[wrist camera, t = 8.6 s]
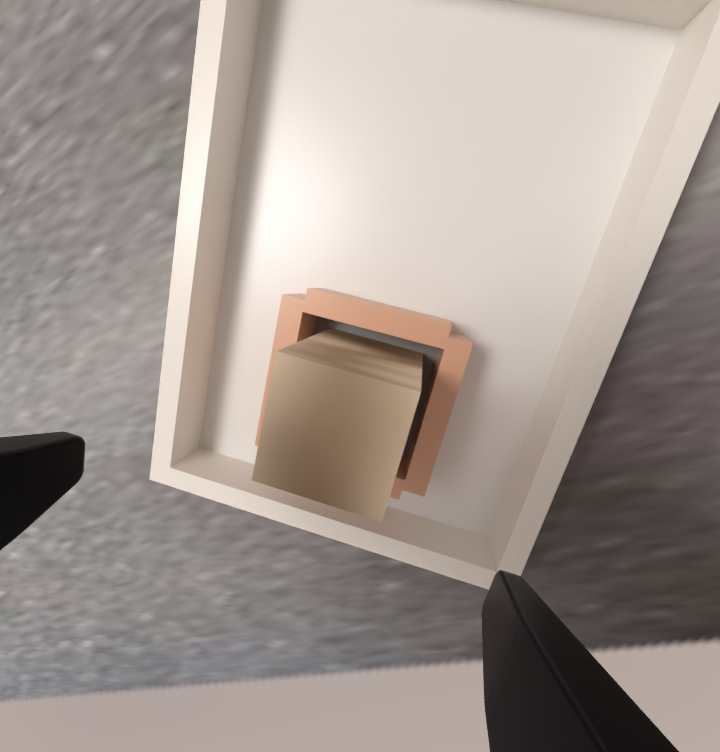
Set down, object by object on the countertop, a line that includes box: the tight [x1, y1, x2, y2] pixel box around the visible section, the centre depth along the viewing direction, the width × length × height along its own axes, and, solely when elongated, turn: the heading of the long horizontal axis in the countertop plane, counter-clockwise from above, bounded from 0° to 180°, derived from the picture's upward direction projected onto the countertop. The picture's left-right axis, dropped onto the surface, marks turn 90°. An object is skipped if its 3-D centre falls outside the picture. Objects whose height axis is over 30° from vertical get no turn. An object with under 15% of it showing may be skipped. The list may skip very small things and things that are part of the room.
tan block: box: [252, 328, 423, 522], centre depth 15 cm, size 4×4×7 cm
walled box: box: [150, 0, 720, 590], centre depth 17 cm, size 18×24×3 cm
